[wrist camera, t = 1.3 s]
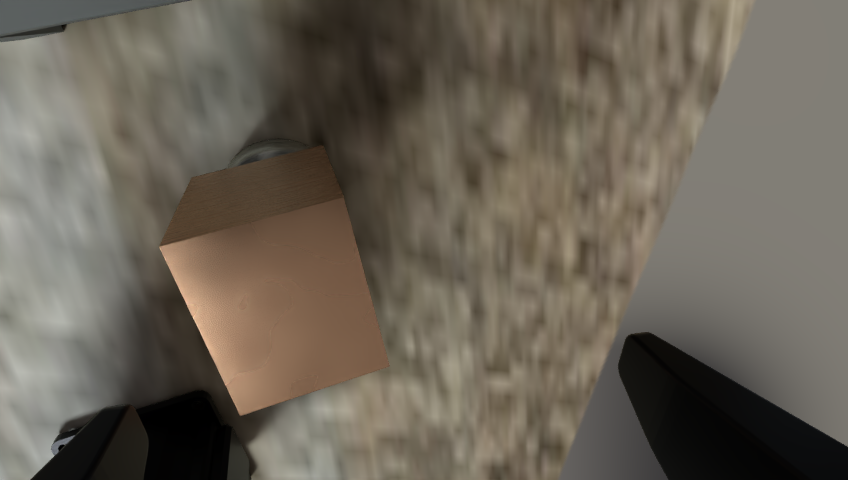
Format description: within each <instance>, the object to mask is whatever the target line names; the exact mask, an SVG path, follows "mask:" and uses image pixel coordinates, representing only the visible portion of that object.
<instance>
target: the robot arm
mask: <svg viewBox="0 0 848 480" xmlns="http://www.w3.org/2000/svg"><path fill="white" fill-rule="evenodd" d="M618 369H619V374H620V378H621V380H622V382H623V385H624V387H625V389H626V392H627V394H628V396H629V399H630V401H631V403H632V405H633V408H634V410H635V412H636V415H637V417H638V420H639V421H640V424H641V426H642V429H643V431H644V433H645V436H646V438H647V440H648V442H649V444H650V446H651V449H652V451H653V452H654V454H655V456H656V458H657V460H658V462H659V464H660V465H661V467H662V469H663V471H664V473H665V474H666V476H667V478H668V480H848V447H847V446H845V445H844V444H842V443H840V442H838V441H837V440H835V439H833V438H832V437H830V436H828V435H826V434H825V433H823V432H821V431H820V430H818V429H816V428H814V427H813V426H811V425H809V424H807V423H806V422H804V421H802V420H801V419H799V418H797V417H795V416H794V415H792V414H790V413H788V412H787V411H785V410H783V409H782V408H780V407H778V406H776V405H775V404H773V403H771V402H769V401H768V400H766V399H764V398H763V397H761V396H759V395H757V394H756V393H754V392H752V391H751V390H749V389H747V388H745V387H744V386H742V385H740V384H738V383H736V382H735V381H733V380H732V379H730V378H728V377H726V376H724V375H723V374H721V373H719V372H718V371H716V370H714V369H713V368H711V367H709V366H707V365H705V364H704V363H702V362H700V361H698V360H697V359H695V358H693V357H692V356H690V355H688V354H686V353H685V352H683V351H681V350H680V349H678V348H676V347H675V346H673V345H671V344H669V343H668V342H666V341H664V340H662V339H661V338H659V337H657V336H656V335H654V334H652V333H649V332H642V333H635V334H630V335H628V336H627V337H626V339H625V342H624V346H623V349H622V353H621V356H620V360H619V363H618ZM195 401H201V402H203V403H201V404H196V403H194V402H195ZM63 444H66V445H63ZM51 450H52V453H53V454H54V455H55V456H54V457H53V458H52V459H51V460H50V461H49V462H48V463H47V464H46V465H45V466H44V467H43V468H42V469H41V470H40V471H39V472H38V473H37V474H36V475H35V476H34V477H33V478H32V479H31V480H251V475H250V473H249V459H248V457H247V455H246V453H245V451H244V449H243V447H242V445H241V443H240V441H239V439H238V437H237V435H236V433H235V431H234V429H233V427H231V426H230V425H228V424H226V425H225V424H224V422H223V420H222V418H221V416H220V414H219V412H218V410H217V408H216V406H215V404H214V402H213V400H212V398H211V396H210V395H209V394H208V393H207V392H205V391H194V392H191V393H188V394H185V395H181V396H178V397H175V398H172V399H169V400H166V401H163V402H159V403H156V404H153V405H150V406H147V407H144V408H141V409H137V410H135V408H134V407H133V406H132V405H130V404H125V405H117V406H110V407H106V408H104V409H102V410H101V411H100V412H99V413H98V414H96V415H95V416H94V417H93V418H92V419H91V420H90V421H89V422H88V423H87V424H86V425H85V426H84V427H81V428H78V429H75V430H72V431H68V432H65V433H62V434H60V435H58V436H57V437H56V439H55V441H54V443H53V445H52V448H51Z"/></svg>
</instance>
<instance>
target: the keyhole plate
mask: <svg viewBox="0 0 848 480" xmlns="http://www.w3.org/2000/svg"><path fill="white" fill-rule="evenodd" d="M185 1H190V0H0V42H6V41H15V40H23V39H29V38H34V37H39V36H44V35H49V34H54V33H60V32H64V31H63V29H62V27H61V25H64V24H69V23H74V22H80V21H85V20H90V19H95V18H101V17H106V16H111V15H116V14H122V13H127V12H132V11H137V10H143V9H148V8H153V7H158V6H164V5H169V4H174V3H179V2H185Z"/></svg>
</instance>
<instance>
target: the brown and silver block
mask: <svg viewBox="0 0 848 480" xmlns="http://www.w3.org/2000/svg"><path fill="white" fill-rule="evenodd" d="M159 248H160V250H161V252H162V254H163V256H164V258H165V261H166V263H167V265H168V267H169V269H170V271H171V273H172V275H173V277H174V279H175V281H176V283H177V285H178V288H179V290H180V292H181V294H182V296H183V298H184V300H185V302H186V304H187V306H188V308H189V310H190V312H191V315H192V317H193V319H194V321H195V323H196V325H197V327H198V329H199V331H200V333H201V335H202V337H203V339H204V342H205V344H206V346H207V348H208V350H209V352H210V354H211V356H212V358H213V360H214V362H215V364H216V367H217V369H218V371H219V373H220V375H221V377H222V379H223V381H224V383H225V385H226V387H227V389H228V391H229V394H230V396H231V398H232V400H233V402H234V404H235V406H236V408H237V410H238V412H239V414H240V416H242V415H245V414H248V413H251V412H254V411H257V410H260V409H263V408H266V407H269V406H272V405H275V404H278V403H281V402H284V401H287V400H290V399H293V398H296V397H299V396H302V395H305V394H308V393H311V392H314V391H317V390H320V389H323V388H326V387H329V386H332V385H335V384H338V383H341V382H344V381H347V380H350V379H353V378H356V377H359V376H362V375H365V374H368V373H371V372H374V371H377V370H380V369H383V368H386V367H389V366H390V365H389V362H388V358H387V354H386V351H385V347H384V343H383V340H382V336H381V332H380V329H379V325H378V321H377V318H376V314H375V310H374V306H373V303H372V299H371V295H370V292H369V288H368V284H367V281H366V277H365V273H364V270H363V266H362V262H361V259H360V255H359V251H358V247H357V244H356V240H355V236H354V233H353V229H352V225H351V222H350V218H349V214H348V211H347V207H346V203H345V199H344V196H343V194H342V191H341V189H340V186H339V184H338V181H337V179H336V176H335V174H334V171H333V169H332V166H331V164H330V161H329V159H328V156H327V154H326V151H325V149H324V146H323V145H321V146H317V147H313V148H310V147H308V146H306V145H304V144H302V143H299V142H296V141H292V140H287V139H270V140H264V141H260V142H257V143H255V144H253V145H250V146H248V147H247V148H245V149H244V150H242V151H241V152H240V153H239V154H238V155H236V157H235V158H234V159H233V160H232V161H231V163H230V164H229V166H228V168H227V169H224V170H220V171H216V172H212V173H208V174H204V175H200V176H196V177H192V178H191V180H190V182H189V184H188V186H187V189H186V191H185V193H184V195H183V197H182V199H181V201H180V203H179V206H178V208H177V210H176V212H175V214H174V216H173V218H172V220H171V222H170V225H169V227H168V229H167V231H166V233H165V235H164V237H163V239H162V242H161V244H160V246H159Z"/></svg>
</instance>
